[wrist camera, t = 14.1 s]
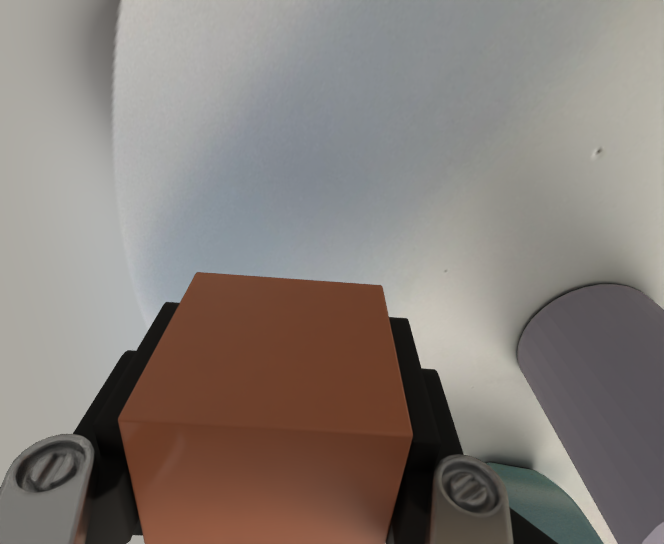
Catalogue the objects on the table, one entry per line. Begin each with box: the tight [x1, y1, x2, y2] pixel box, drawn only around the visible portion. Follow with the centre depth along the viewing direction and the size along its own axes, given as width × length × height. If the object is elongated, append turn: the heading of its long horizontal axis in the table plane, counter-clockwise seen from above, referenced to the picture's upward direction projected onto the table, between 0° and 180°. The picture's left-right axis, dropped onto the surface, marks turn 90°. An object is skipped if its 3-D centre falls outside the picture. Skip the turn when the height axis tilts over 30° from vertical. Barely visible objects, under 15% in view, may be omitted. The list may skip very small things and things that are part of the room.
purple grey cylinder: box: [518, 284, 664, 544], centre depth 26 cm, size 10×10×15 cm
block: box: [118, 272, 413, 544], centre depth 10 cm, size 5×5×5 cm
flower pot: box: [487, 463, 604, 544], centre depth 37 cm, size 9×9×9 cm
